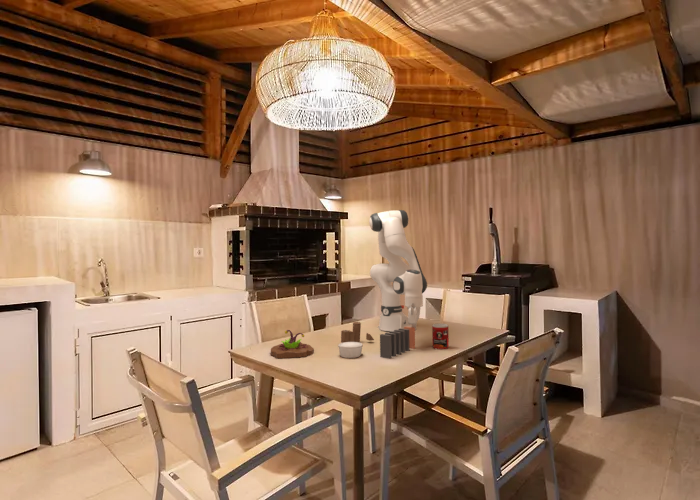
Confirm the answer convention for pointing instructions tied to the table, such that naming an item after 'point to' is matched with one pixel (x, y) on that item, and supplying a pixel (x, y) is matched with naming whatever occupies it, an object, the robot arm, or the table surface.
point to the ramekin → (350, 349)
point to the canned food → (440, 336)
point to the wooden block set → (353, 334)
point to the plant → (292, 348)
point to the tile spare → (411, 336)
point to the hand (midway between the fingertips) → (414, 330)
